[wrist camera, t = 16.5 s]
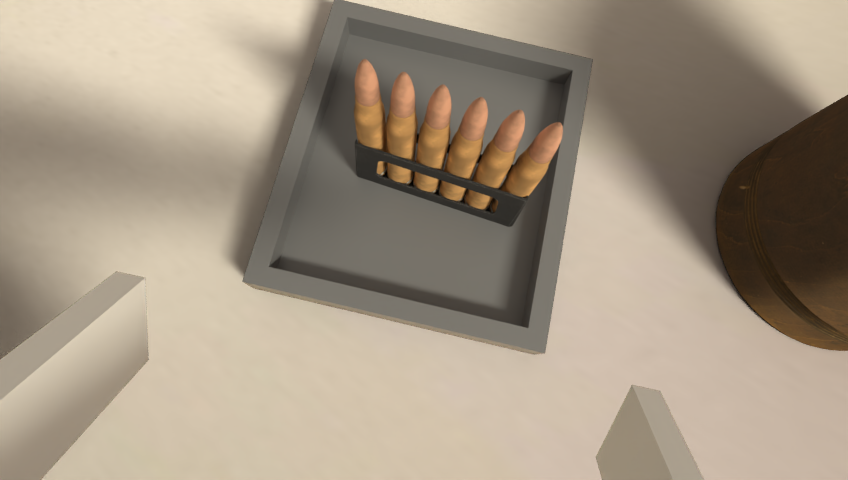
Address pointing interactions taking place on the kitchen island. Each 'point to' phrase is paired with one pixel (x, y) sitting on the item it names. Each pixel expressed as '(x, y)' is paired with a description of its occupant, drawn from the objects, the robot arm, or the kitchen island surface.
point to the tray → (413, 216)
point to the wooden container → (793, 229)
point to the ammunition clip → (447, 150)
